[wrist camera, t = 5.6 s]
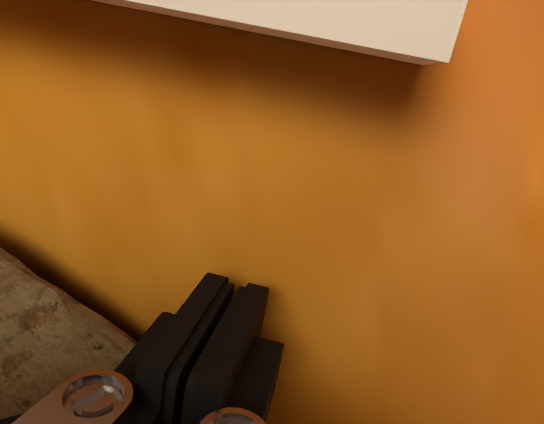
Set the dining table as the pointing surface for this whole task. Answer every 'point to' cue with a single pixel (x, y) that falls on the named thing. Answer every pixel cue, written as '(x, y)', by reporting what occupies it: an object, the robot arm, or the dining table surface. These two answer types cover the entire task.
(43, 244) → the dining table surface
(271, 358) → the robot arm
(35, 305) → the stone block
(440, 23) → the set of beige bars
